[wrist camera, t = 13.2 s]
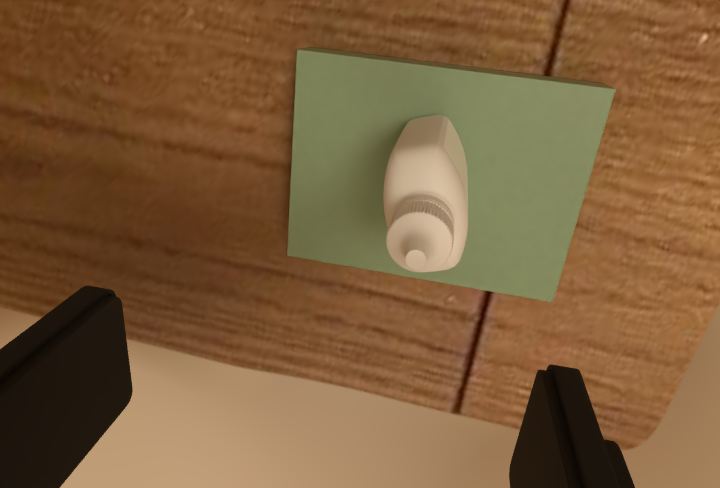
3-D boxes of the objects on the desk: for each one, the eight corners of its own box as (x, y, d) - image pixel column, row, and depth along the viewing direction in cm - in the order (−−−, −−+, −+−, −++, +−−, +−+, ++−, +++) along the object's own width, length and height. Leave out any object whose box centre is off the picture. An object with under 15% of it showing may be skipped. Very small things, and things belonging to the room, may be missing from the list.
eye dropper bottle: (493, 130, 27) (513, 207, 16) (453, 225, 29) (447, 347, 19) (413, 102, 27) (380, 159, 16) (380, 199, 30) (332, 304, 19)
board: (309, 46, 29) (296, 49, 27) (603, 83, 27) (616, 88, 25) (298, 240, 34) (286, 255, 32) (546, 282, 32) (553, 302, 30)
